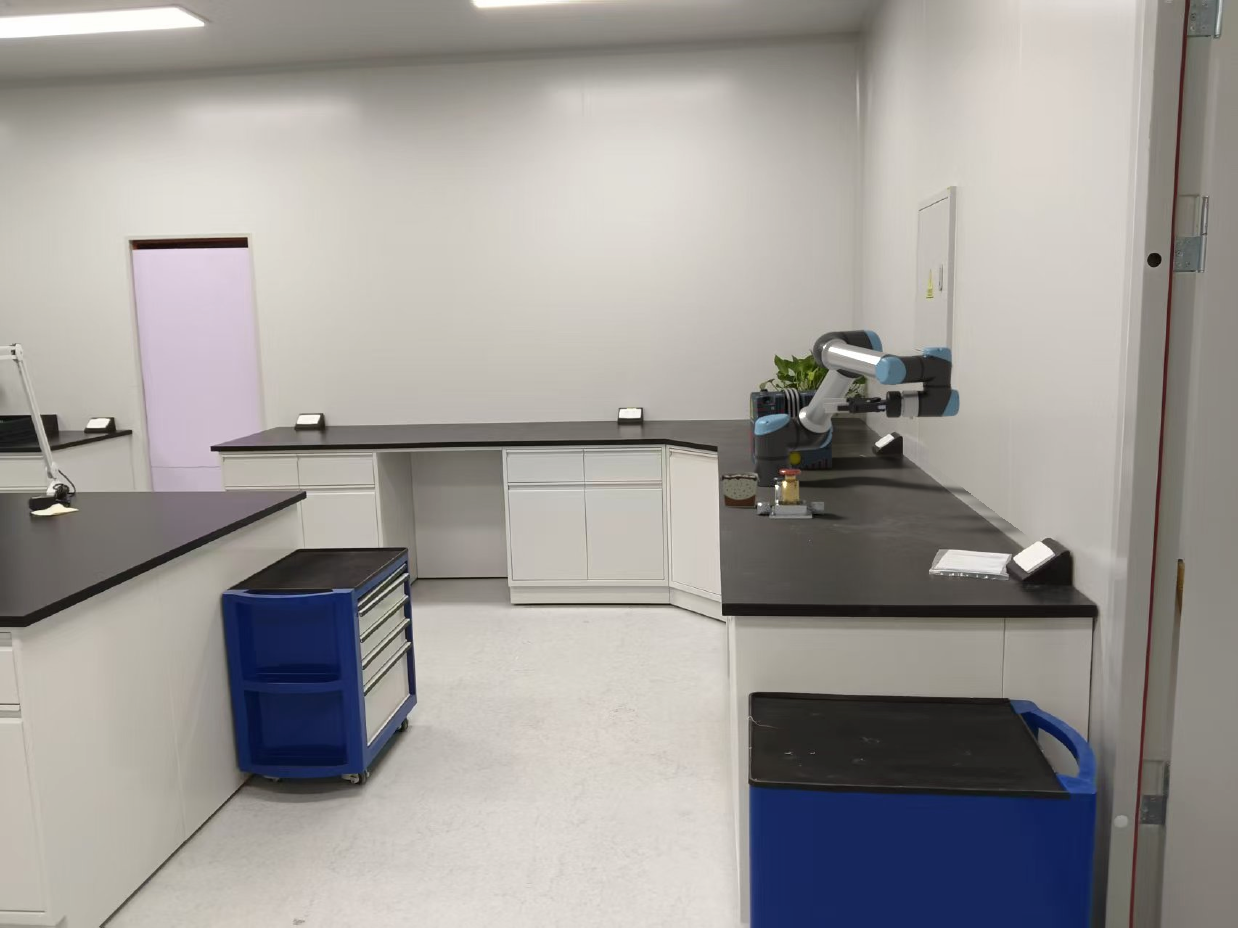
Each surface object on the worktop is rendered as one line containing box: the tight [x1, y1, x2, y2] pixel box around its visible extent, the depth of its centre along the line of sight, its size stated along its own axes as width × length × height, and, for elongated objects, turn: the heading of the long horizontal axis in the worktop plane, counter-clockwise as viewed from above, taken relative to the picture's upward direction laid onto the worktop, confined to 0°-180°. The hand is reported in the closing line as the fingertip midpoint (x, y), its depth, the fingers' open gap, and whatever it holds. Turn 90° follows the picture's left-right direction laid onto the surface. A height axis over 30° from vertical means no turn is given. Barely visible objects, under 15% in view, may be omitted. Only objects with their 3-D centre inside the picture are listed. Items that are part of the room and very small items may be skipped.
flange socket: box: [756, 499, 825, 520], centre depth 284 cm, size 12×19×4 cm, turn 80°
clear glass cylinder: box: [774, 477, 785, 501], centre depth 297 cm, size 4×4×9 cm
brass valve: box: [780, 469, 802, 505], centre depth 284 cm, size 6×6×12 cm
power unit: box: [749, 386, 833, 470], centre depth 375 cm, size 28×28×30 cm
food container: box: [719, 471, 760, 508], centre depth 300 cm, size 12×6×10 cm, turn 74°
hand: (823, 405), depth 278 cm, fingers open, 13 cm apart
